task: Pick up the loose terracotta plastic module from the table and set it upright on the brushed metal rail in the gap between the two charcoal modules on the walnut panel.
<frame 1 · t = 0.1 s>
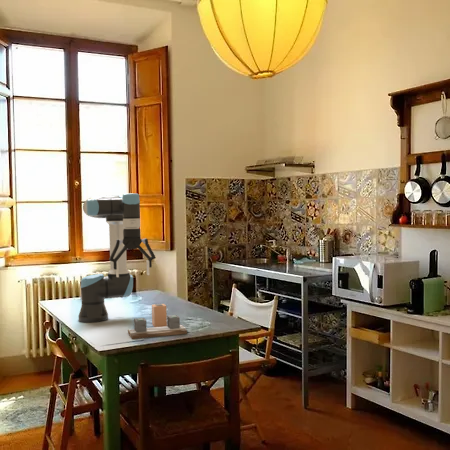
hand: (133, 276, 236), 28 cm above the table, fingers open, 13 cm apart
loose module: (159, 325, 261), on the table
rail panel: (157, 333, 244), on the table
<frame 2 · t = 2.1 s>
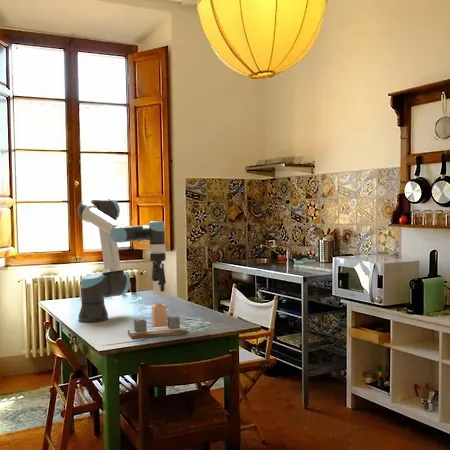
hand: (159, 296, 260), 15 cm above the table, fingers open, 13 cm apart
nothing on the table moved.
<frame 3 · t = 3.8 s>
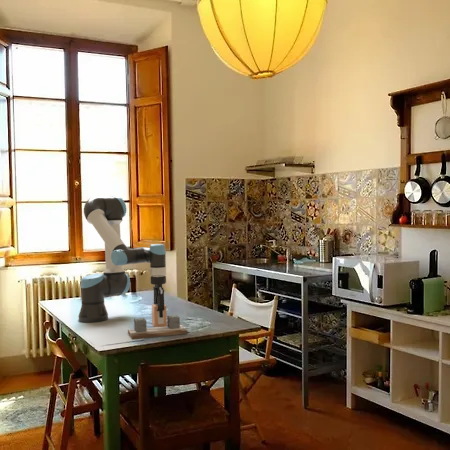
hand: (159, 322, 261), 1 cm above the table, fingers closed on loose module, 6 cm apart
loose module: (159, 325, 261), on the table, touching gripper
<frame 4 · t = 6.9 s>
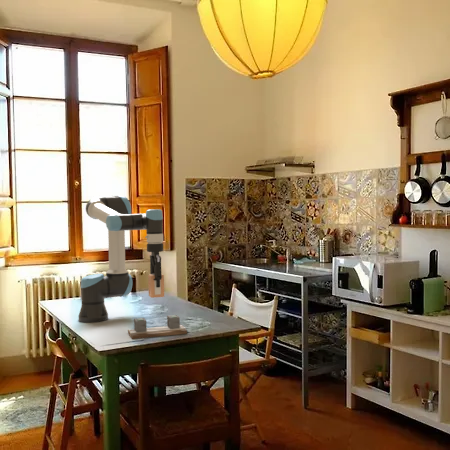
hand: (156, 293, 244), 19 cm above the table, fingers closed on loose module, 6 cm apart
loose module: (156, 296, 244), point 17 cm above the table, touching gripper
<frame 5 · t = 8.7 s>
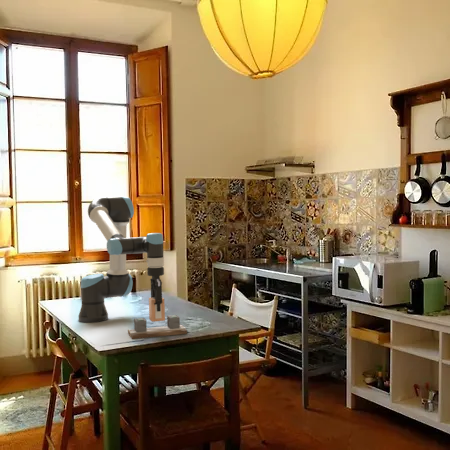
hand: (156, 316, 244), 8 cm above the table, fingers closed on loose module, 6 cm apart
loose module: (157, 319, 244), point 6 cm above the table, touching gripper
when the fingers open (5 cm above the table, at t = 10.1 s): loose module drops 1 cm, resting on rail panel.
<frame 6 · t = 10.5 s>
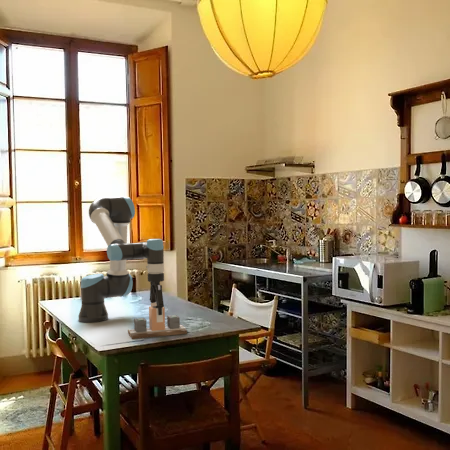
hand: (156, 319, 244), 7 cm above the table, fingers open, 12 cm apart
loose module: (157, 328, 244), point 2 cm above the table, touching rail panel
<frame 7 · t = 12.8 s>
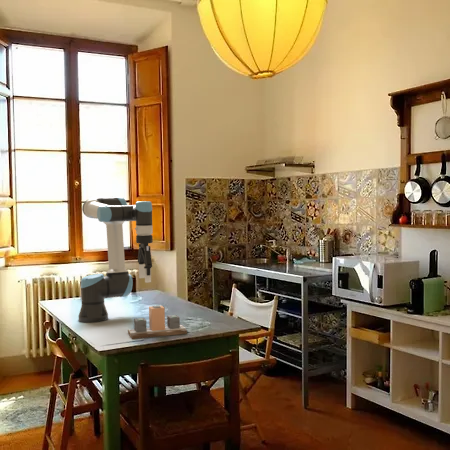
hand: (145, 280, 246), 24 cm above the table, fingers open, 13 cm apart
nothing on the table moved.
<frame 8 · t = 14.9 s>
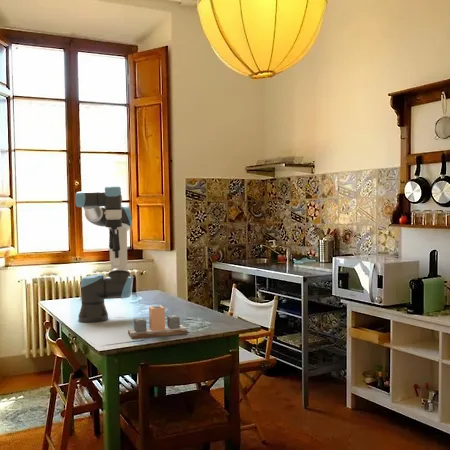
hand: (114, 263, 252), 32 cm above the table, fingers open, 13 cm apart
nothing on the table moved.
at the end: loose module 0.0 cm off-centre on the rail panel, point 2.1 cm above the rail panel's base; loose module tilted 0°; the gripper is holding nothing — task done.
